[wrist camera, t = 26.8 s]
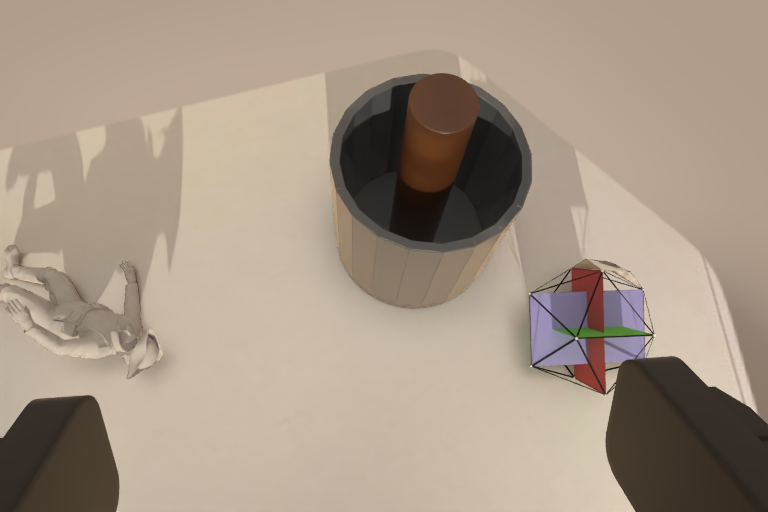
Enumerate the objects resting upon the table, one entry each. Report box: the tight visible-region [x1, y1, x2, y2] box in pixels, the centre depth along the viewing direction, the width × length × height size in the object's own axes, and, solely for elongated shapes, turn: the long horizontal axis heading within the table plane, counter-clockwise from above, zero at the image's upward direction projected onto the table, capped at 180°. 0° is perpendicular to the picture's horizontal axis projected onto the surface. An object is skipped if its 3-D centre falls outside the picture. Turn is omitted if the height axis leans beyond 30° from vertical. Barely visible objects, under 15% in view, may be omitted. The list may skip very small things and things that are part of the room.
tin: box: [329, 74, 532, 308], centre depth 33 cm, size 10×10×10 cm
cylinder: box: [389, 73, 480, 243], centre depth 30 cm, size 3×3×14 cm
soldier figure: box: [0, 245, 163, 379], centre depth 33 cm, size 8×5×12 cm
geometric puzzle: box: [528, 259, 656, 397], centre depth 32 cm, size 7×7×8 cm
